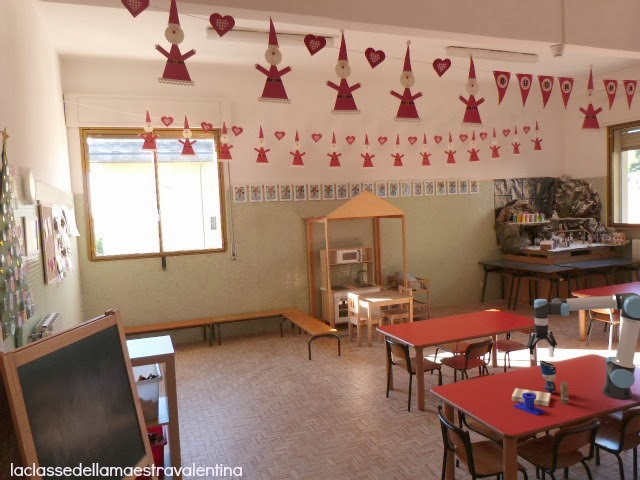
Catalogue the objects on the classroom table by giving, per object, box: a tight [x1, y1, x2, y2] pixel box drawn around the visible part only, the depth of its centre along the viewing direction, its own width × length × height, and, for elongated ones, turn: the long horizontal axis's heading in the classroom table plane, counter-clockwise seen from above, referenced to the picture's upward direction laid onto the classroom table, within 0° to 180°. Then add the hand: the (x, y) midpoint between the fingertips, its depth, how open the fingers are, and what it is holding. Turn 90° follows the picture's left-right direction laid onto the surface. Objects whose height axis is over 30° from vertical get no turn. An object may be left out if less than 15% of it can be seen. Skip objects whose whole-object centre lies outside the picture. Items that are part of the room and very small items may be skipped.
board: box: [511, 387, 552, 407], centre depth 289 cm, size 20×14×3 cm
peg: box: [560, 381, 570, 405], centre depth 282 cm, size 4×4×12 cm
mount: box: [513, 393, 546, 416], centre depth 275 cm, size 15×8×9 cm, turn 31°
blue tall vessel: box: [539, 360, 557, 394], centre depth 298 cm, size 13×9×20 cm
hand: (542, 358), depth 294 cm, fingers open, 13 cm apart
